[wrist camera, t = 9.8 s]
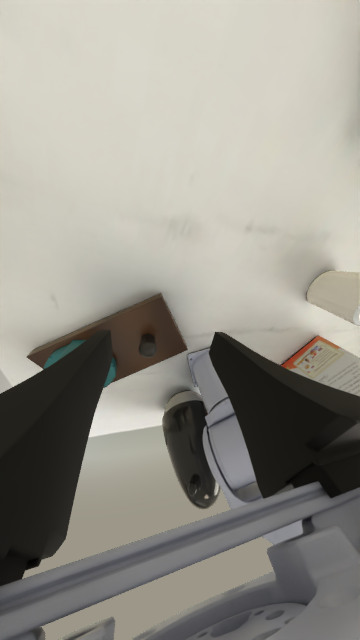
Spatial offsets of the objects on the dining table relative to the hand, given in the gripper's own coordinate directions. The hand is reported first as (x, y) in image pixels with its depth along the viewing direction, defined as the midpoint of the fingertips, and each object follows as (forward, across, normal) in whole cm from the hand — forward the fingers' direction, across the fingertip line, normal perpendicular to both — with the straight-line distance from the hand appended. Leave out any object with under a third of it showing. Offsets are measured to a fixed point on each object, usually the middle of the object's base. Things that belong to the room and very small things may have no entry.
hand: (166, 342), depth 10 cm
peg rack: (+10, +5, +9) cm, 15 cm away
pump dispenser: (+11, -8, +24) cm, 27 cm away
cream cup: (+11, -27, -4) cm, 30 cm away
